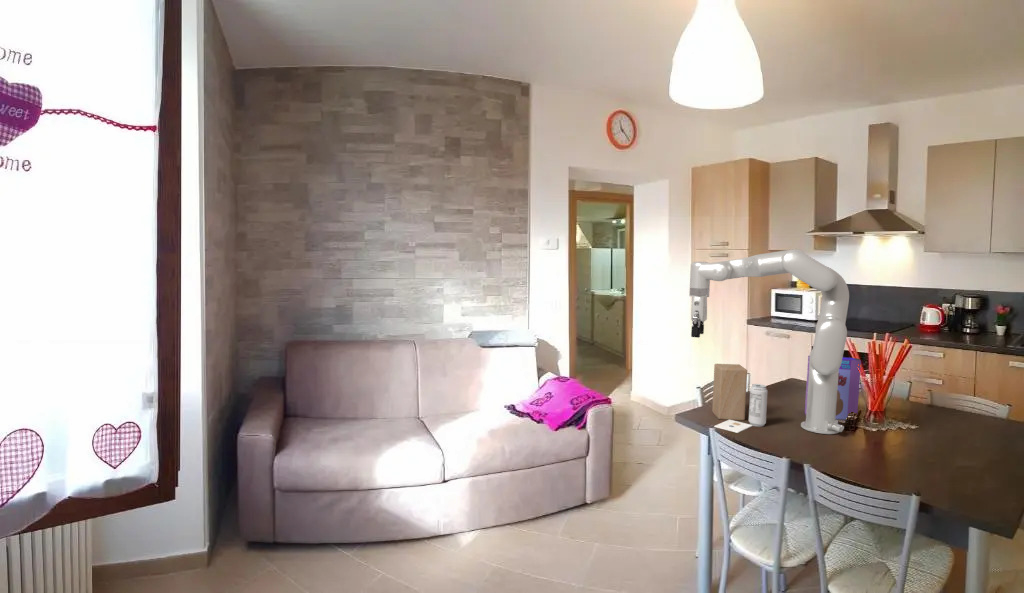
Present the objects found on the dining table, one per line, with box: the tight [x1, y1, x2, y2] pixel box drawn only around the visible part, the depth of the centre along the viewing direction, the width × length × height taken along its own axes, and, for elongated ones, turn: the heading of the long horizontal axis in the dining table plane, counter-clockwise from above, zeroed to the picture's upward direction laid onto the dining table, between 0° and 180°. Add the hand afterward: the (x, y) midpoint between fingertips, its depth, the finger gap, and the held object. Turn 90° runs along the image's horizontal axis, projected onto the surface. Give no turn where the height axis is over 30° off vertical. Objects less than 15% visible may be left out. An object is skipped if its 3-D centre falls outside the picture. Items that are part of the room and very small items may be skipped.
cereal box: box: [804, 355, 862, 421], centre depth 225 cm, size 17×5×24 cm, turn 76°
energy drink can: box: [748, 383, 768, 427], centre depth 215 cm, size 6×6×15 cm
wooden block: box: [711, 363, 748, 421], centre depth 224 cm, size 10×10×20 cm
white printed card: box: [713, 419, 753, 434], centre depth 213 cm, size 9×12×1 cm
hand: (697, 335), depth 228 cm, fingers open, 9 cm apart
